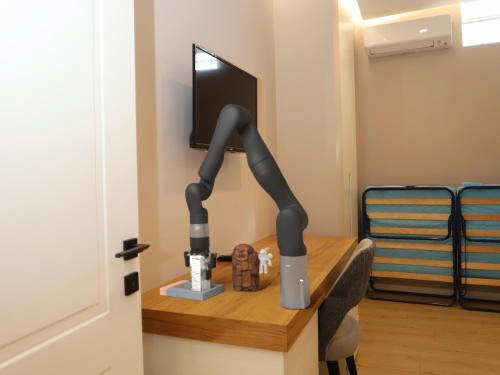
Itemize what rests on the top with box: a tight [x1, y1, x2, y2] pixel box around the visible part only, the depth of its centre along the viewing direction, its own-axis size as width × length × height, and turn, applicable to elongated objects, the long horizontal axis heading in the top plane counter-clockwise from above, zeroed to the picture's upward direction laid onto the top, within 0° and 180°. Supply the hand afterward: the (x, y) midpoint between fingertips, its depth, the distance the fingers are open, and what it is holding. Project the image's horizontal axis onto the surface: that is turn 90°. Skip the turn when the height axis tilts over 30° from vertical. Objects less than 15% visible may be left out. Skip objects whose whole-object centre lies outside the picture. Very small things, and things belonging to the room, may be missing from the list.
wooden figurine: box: [231, 243, 260, 292], centre depth 155 cm, size 12×6×18 cm, turn 73°
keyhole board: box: [159, 279, 224, 302], centre depth 152 cm, size 20×14×2 cm
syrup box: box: [189, 255, 212, 292], centre depth 150 cm, size 6×6×14 cm
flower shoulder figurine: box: [258, 247, 274, 275], centre depth 182 cm, size 9×4×12 cm, turn 74°
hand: (200, 278), depth 150 cm, fingers closed on syrup box, 6 cm apart
